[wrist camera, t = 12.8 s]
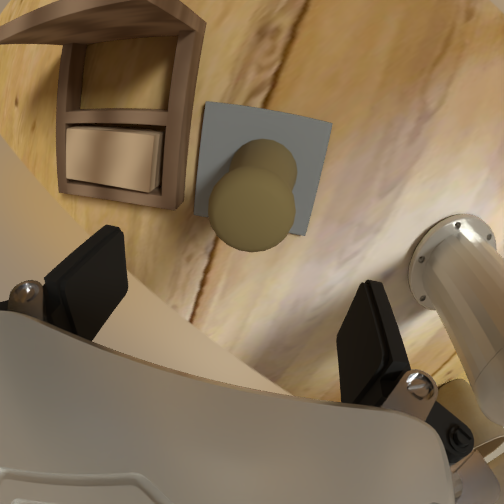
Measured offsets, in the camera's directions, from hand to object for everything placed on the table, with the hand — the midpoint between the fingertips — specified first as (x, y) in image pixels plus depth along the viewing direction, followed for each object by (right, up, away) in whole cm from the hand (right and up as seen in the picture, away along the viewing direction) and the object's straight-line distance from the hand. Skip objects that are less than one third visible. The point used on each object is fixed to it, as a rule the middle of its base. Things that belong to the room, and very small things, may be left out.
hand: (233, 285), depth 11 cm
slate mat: (+1, +9, +15) cm, 17 cm away
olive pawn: (+2, +8, +15) cm, 17 cm away
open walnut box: (-12, +15, +13) cm, 23 cm away
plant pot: (+38, -25, +30) cm, 54 cm away
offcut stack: (-12, +12, +15) cm, 23 cm away
